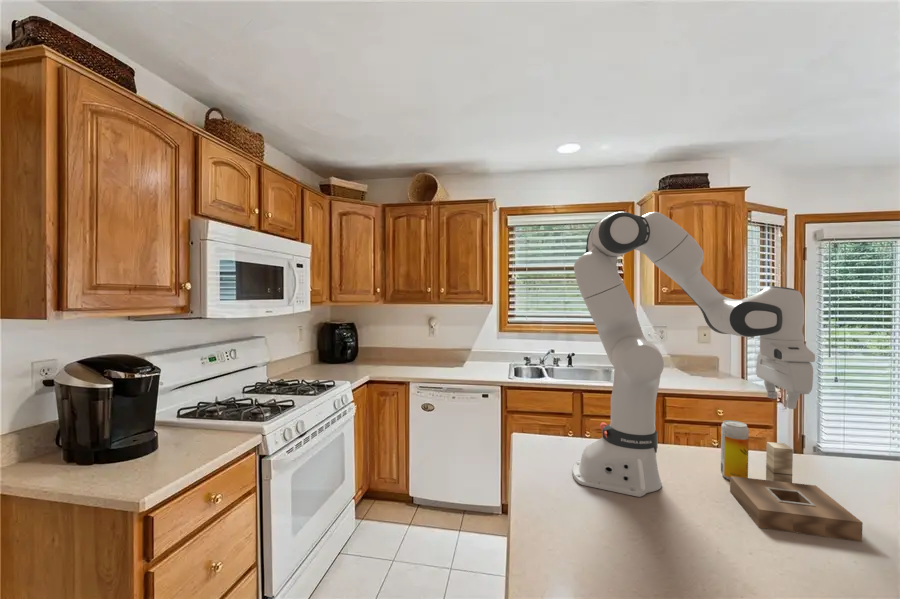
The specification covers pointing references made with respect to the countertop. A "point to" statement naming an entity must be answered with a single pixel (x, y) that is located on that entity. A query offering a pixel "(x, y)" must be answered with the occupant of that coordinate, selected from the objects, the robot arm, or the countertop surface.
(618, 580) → the countertop surface
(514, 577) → the countertop surface
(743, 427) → the beer can
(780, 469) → the birch peg
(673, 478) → the countertop surface
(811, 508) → the walnut board
